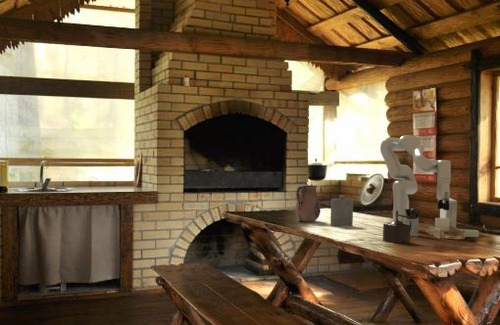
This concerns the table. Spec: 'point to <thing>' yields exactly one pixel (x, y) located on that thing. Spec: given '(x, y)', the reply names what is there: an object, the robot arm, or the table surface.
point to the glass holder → (412, 222)
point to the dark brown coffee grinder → (398, 229)
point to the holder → (471, 233)
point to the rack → (439, 232)
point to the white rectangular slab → (442, 223)
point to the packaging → (450, 212)
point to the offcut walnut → (448, 232)
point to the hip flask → (341, 212)
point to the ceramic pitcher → (307, 203)
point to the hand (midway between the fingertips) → (443, 209)
